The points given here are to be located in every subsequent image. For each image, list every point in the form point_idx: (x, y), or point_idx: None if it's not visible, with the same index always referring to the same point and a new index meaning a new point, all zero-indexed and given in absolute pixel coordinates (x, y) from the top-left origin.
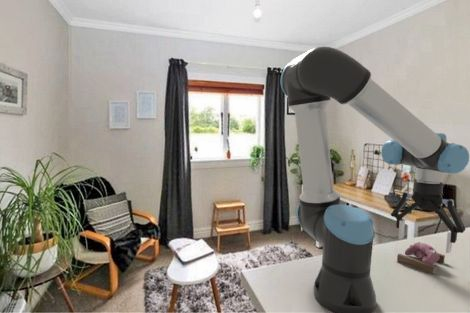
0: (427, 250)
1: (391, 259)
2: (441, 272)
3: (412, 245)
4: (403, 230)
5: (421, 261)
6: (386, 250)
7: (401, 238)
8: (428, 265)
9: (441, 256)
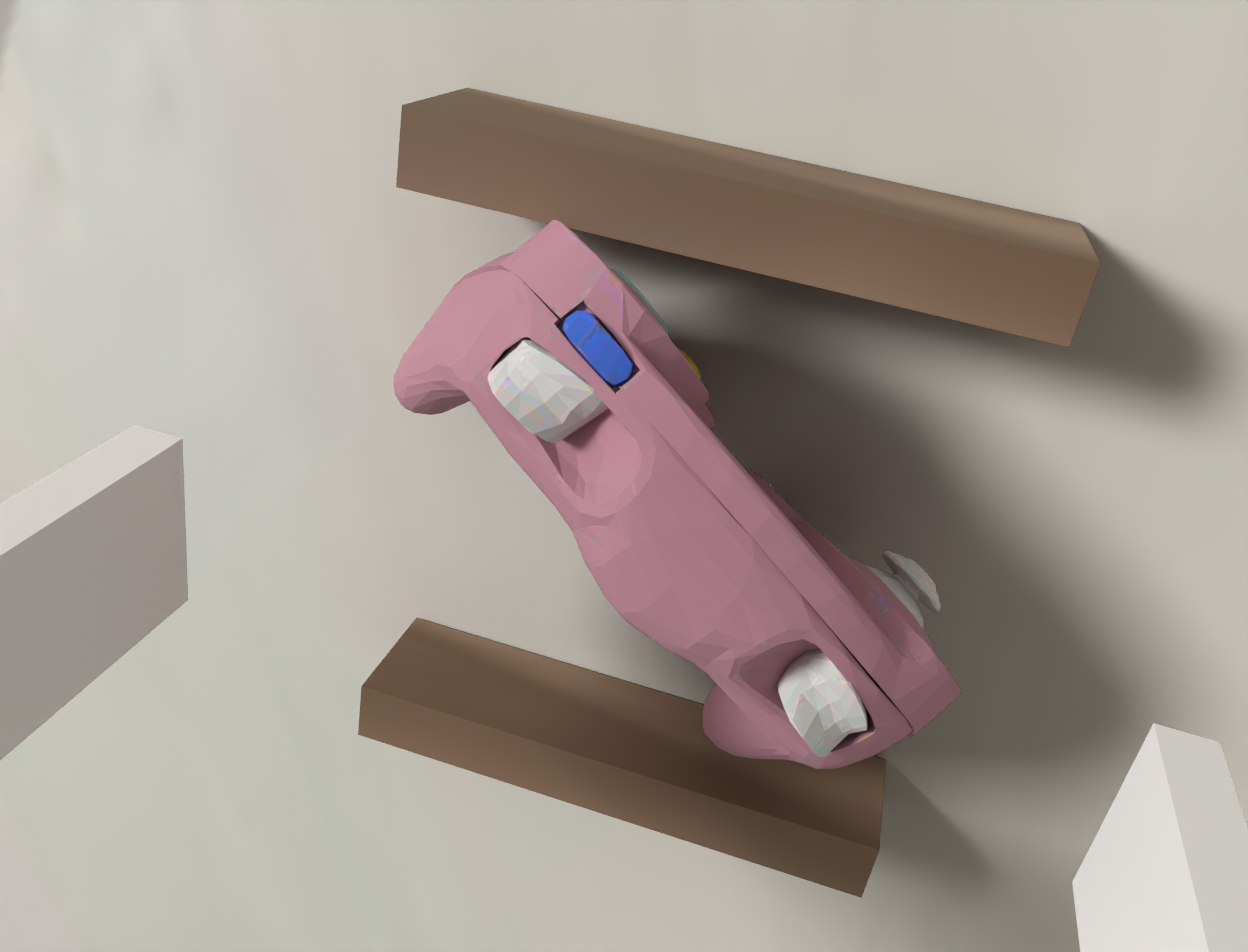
0: (728, 691)
1: (335, 623)
2: (998, 675)
3: (438, 375)
4: (50, 572)
5: (692, 802)
6: (165, 332)
7: (184, 559)
8: (797, 876)
9: (1023, 326)
